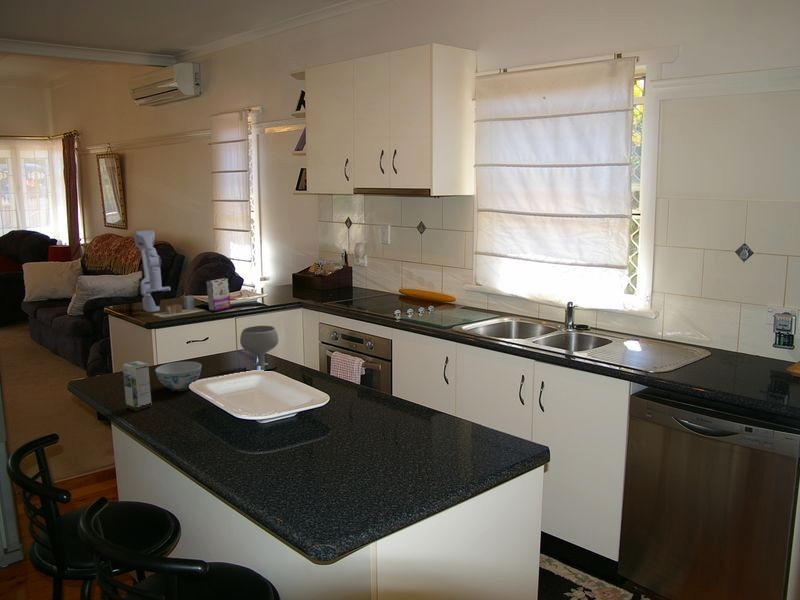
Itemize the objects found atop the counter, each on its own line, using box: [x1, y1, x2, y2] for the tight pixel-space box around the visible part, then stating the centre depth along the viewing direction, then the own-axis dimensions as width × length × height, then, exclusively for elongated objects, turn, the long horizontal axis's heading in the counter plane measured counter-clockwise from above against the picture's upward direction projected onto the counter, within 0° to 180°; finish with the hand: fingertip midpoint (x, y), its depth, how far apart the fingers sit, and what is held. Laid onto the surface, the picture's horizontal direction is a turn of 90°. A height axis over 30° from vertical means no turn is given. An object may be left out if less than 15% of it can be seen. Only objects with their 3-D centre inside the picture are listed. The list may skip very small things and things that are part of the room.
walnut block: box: [165, 303, 183, 314], centre depth 370 cm, size 4×4×7 cm
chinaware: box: [154, 361, 202, 389], centre depth 238 cm, size 15×15×8 cm
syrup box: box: [122, 360, 152, 407], centre depth 219 cm, size 6×6×14 cm
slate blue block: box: [182, 295, 196, 310], centre depth 379 cm, size 4×4×7 cm
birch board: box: [152, 307, 207, 319], centre depth 371 cm, size 14×24×1 cm, turn 133°
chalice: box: [239, 325, 279, 366], centre depth 261 cm, size 14×14×15 cm
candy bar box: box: [206, 277, 231, 311], centre depth 378 cm, size 11×5×16 cm, turn 143°
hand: (157, 305), depth 363 cm, fingers closed
